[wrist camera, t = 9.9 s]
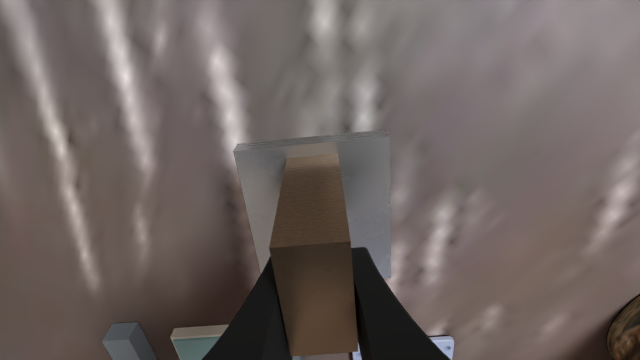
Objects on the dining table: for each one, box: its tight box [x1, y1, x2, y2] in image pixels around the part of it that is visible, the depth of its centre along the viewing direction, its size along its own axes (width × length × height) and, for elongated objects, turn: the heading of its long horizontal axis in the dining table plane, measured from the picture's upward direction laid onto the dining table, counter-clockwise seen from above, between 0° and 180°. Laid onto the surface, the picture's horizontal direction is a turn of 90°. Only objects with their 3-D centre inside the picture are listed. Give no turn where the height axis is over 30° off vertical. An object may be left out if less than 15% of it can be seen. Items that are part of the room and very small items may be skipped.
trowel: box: [233, 130, 391, 356], centre depth 13 cm, size 6×7×6 cm
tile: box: [170, 325, 229, 360], centre depth 28 cm, size 5×5×2 cm
